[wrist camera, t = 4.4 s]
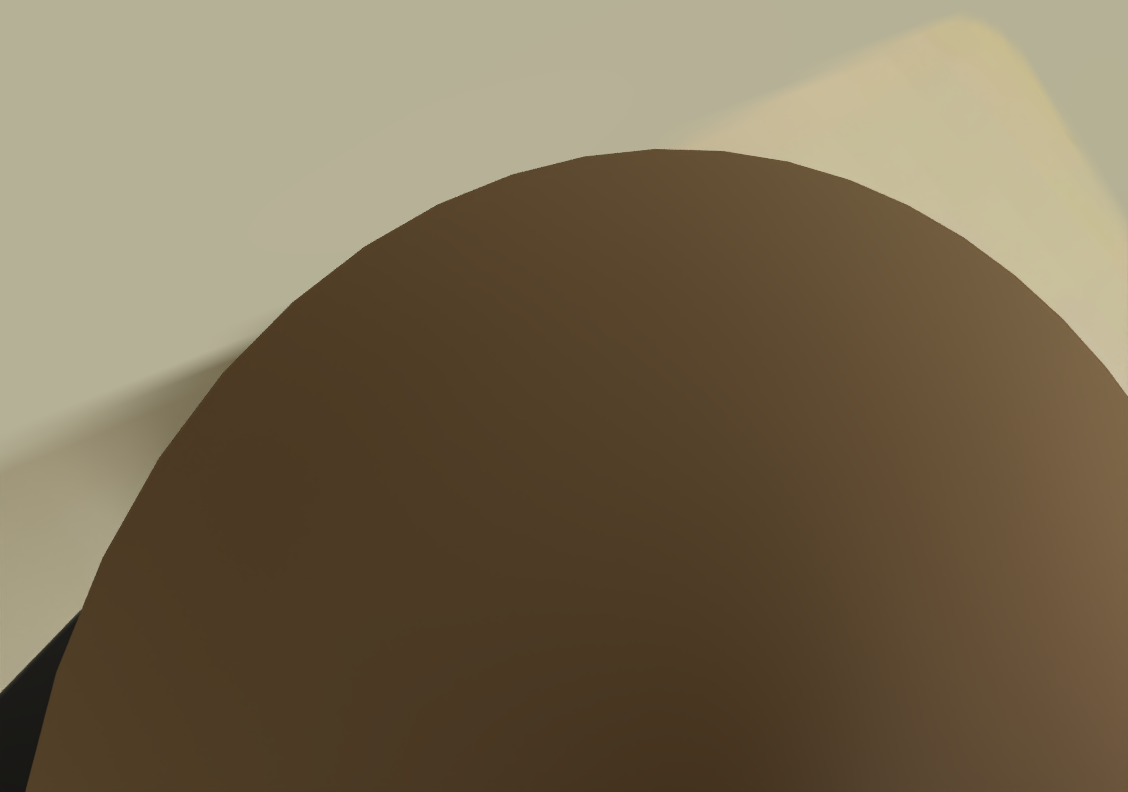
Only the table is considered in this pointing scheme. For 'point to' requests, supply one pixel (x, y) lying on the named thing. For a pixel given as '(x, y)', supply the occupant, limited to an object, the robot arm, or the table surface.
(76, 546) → the table surface
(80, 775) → the walnut post
